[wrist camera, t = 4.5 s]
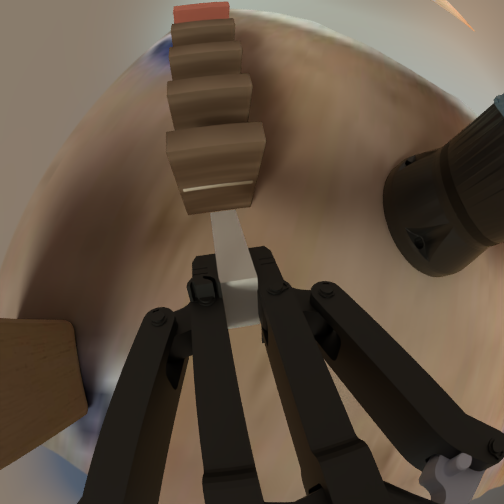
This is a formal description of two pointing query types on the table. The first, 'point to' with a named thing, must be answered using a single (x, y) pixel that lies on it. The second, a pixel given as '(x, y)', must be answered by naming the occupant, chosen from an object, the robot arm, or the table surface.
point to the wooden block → (37, 384)
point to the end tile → (201, 12)
